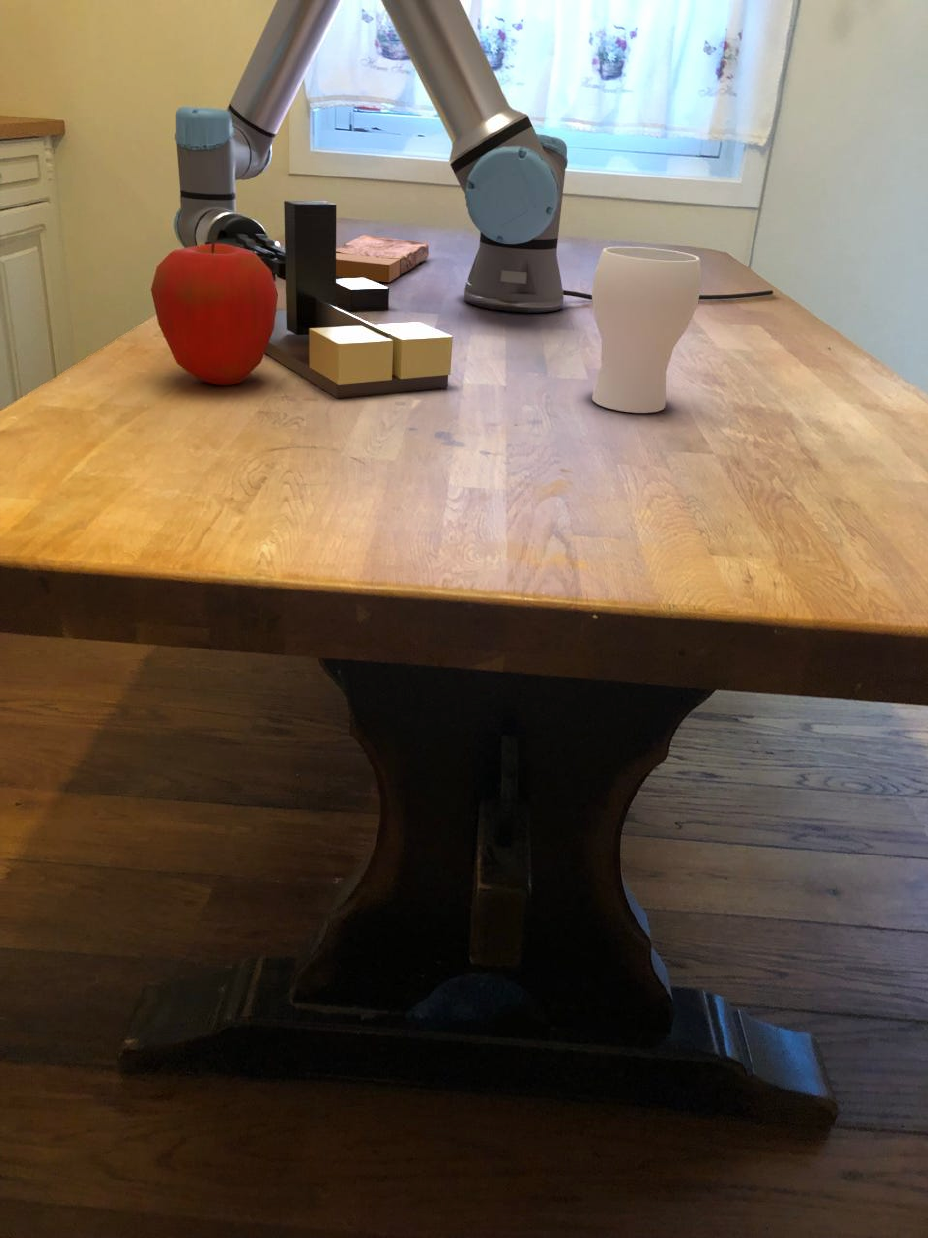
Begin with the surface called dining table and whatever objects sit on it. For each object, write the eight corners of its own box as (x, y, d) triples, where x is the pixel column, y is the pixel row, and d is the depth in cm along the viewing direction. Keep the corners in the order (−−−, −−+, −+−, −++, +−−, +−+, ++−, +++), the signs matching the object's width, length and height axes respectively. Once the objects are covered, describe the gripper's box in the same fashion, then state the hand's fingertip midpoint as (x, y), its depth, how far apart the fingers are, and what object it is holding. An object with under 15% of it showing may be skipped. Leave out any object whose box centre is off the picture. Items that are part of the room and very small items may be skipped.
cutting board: (220, 325, 120) (219, 312, 119) (315, 320, 126) (315, 308, 125) (336, 398, 95) (336, 383, 94) (447, 387, 101) (448, 373, 101)
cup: (678, 423, 96) (706, 266, 88) (573, 410, 97) (593, 254, 90) (678, 396, 105) (704, 252, 98) (583, 384, 106) (601, 241, 99)
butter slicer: (286, 329, 112) (284, 200, 105) (325, 327, 115) (325, 201, 108) (367, 374, 97) (370, 227, 90) (410, 370, 99) (416, 227, 93)
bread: (312, 275, 155) (312, 254, 154) (363, 252, 181) (363, 234, 180) (389, 284, 153) (390, 262, 152) (430, 259, 179) (431, 240, 178)
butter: (309, 367, 99) (309, 328, 97) (417, 358, 105) (419, 321, 103) (338, 384, 94) (338, 343, 92) (450, 374, 100) (452, 336, 98)
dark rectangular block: (326, 300, 138) (326, 278, 137) (363, 298, 141) (363, 277, 140) (350, 311, 132) (350, 289, 131) (388, 309, 135) (389, 287, 134)
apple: (179, 361, 103) (169, 222, 96) (289, 370, 103) (286, 231, 96) (142, 392, 92) (127, 237, 85) (265, 401, 92) (260, 247, 85)
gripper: (279, 271, 133) (354, 305, 116) (187, 273, 126) (251, 309, 109) (278, 213, 129) (355, 239, 112) (183, 212, 123) (249, 239, 106)
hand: (303, 273), depth 111 cm, fingers closed
